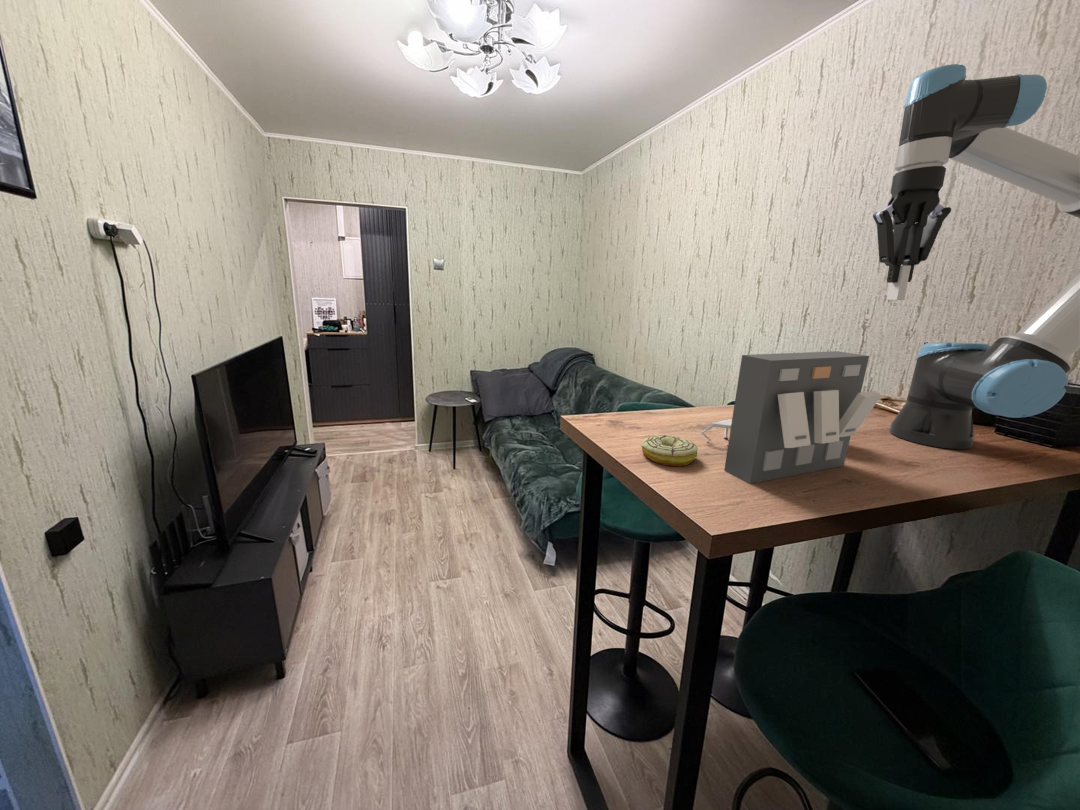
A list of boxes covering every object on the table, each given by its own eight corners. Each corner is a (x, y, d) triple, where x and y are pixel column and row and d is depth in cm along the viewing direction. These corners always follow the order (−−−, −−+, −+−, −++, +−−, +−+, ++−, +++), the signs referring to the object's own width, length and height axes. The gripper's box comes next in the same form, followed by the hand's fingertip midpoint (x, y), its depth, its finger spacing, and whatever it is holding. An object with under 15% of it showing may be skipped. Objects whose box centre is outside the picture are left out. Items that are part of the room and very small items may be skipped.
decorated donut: (664, 445, 95) (666, 429, 94) (706, 462, 86) (709, 444, 85) (630, 454, 89) (632, 437, 88) (672, 473, 80) (674, 454, 79)
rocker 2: (854, 435, 81) (882, 396, 76) (838, 438, 80) (866, 397, 75) (846, 430, 82) (874, 391, 77) (831, 432, 81) (858, 392, 76)
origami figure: (735, 435, 102) (738, 415, 101) (762, 448, 95) (765, 426, 93) (691, 438, 99) (694, 418, 98) (715, 452, 91) (718, 429, 90)
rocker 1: (811, 445, 72) (804, 391, 73) (793, 447, 71) (785, 393, 71) (803, 445, 74) (796, 392, 74) (784, 447, 72) (777, 394, 73)
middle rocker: (840, 441, 76) (839, 389, 75) (823, 443, 74) (822, 391, 74) (831, 440, 77) (830, 389, 77) (814, 442, 76) (813, 391, 75)
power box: (845, 466, 85) (871, 356, 80) (751, 484, 76) (773, 360, 70) (815, 455, 91) (837, 351, 85) (724, 470, 82) (742, 355, 76)
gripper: (938, 171, 83) (913, 297, 90) (869, 175, 84) (849, 300, 91) (975, 162, 76) (945, 299, 83) (899, 166, 77) (875, 302, 83)
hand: (895, 299), depth 87 cm, fingers closed
